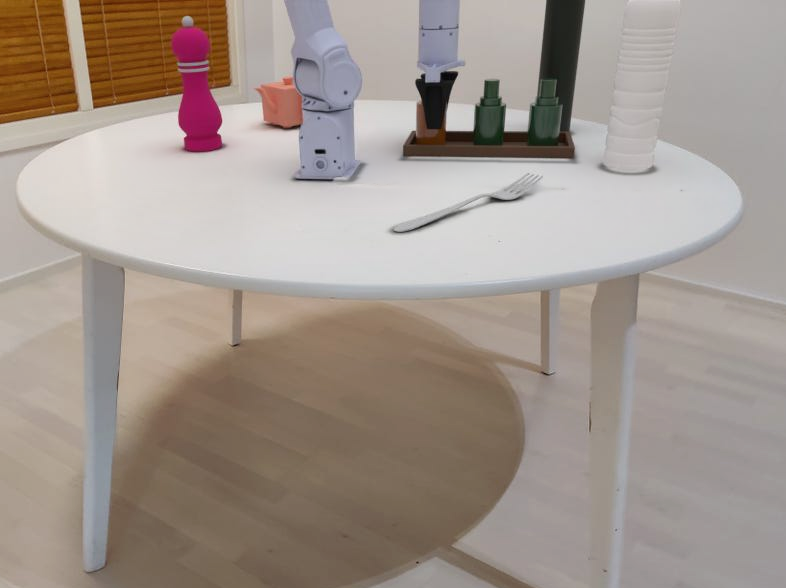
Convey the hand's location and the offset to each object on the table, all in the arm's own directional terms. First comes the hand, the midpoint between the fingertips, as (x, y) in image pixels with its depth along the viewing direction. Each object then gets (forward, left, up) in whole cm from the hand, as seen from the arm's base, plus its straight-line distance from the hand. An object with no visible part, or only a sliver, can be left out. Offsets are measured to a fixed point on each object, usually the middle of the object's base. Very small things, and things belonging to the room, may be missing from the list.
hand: (435, 125), depth 108 cm
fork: (-28, -7, -4) cm, 29 cm away
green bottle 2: (0, -16, -3) cm, 16 cm away
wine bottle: (+14, -18, -4) cm, 23 cm away
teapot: (+20, +29, -4) cm, 35 cm away
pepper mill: (+1, +39, -4) cm, 39 cm away
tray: (0, -8, -4) cm, 9 cm away
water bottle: (-7, -28, -4) cm, 29 cm away
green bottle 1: (0, -8, -3) cm, 9 cm away
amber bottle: (0, +1, -3) cm, 3 cm away
